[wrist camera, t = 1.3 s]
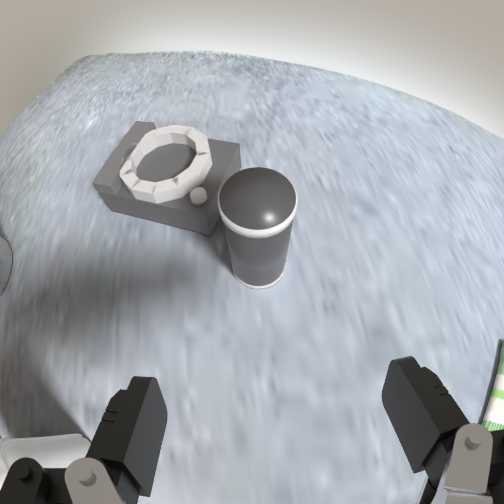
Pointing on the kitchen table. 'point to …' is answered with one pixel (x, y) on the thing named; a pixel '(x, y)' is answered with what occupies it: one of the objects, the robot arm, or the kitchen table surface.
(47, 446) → the photo printer
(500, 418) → the dish towel
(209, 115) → the kitchen table surface
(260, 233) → the lens
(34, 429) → the kitchen table surface
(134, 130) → the camera body
